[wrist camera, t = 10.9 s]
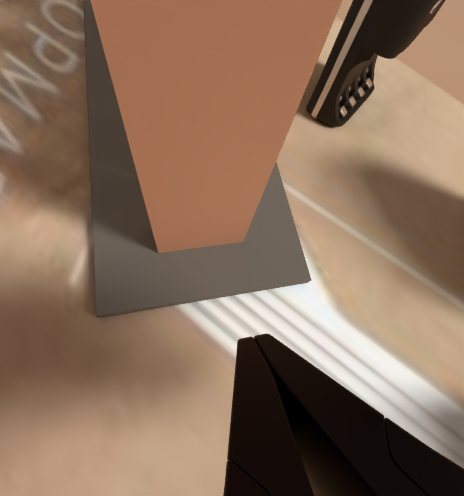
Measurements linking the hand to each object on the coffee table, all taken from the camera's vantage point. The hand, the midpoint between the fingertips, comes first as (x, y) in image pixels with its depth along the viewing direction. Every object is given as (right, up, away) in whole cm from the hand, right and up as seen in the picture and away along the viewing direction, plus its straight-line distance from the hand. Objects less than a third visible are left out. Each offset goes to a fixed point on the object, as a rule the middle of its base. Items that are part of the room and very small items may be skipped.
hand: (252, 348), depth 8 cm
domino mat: (-5, +14, +14) cm, 20 cm away
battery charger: (+8, +14, +17) cm, 24 cm away
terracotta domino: (-3, +4, +10) cm, 11 cm away
